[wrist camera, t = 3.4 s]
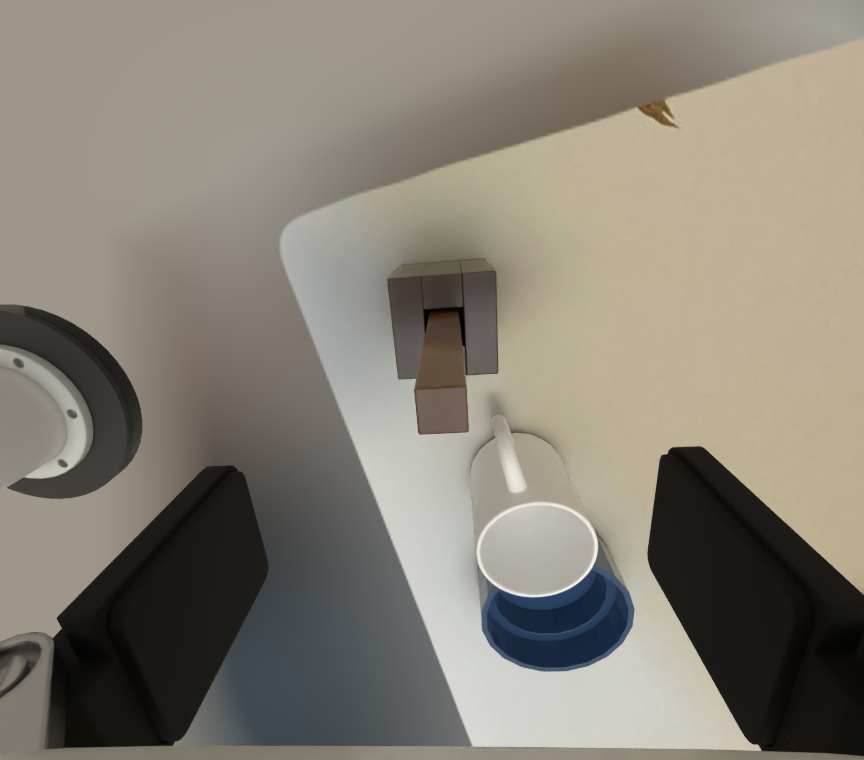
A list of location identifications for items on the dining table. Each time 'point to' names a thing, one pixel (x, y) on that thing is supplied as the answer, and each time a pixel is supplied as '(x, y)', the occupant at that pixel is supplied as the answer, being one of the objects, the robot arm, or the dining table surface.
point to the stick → (442, 376)
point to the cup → (528, 516)
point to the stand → (445, 288)
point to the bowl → (560, 620)
